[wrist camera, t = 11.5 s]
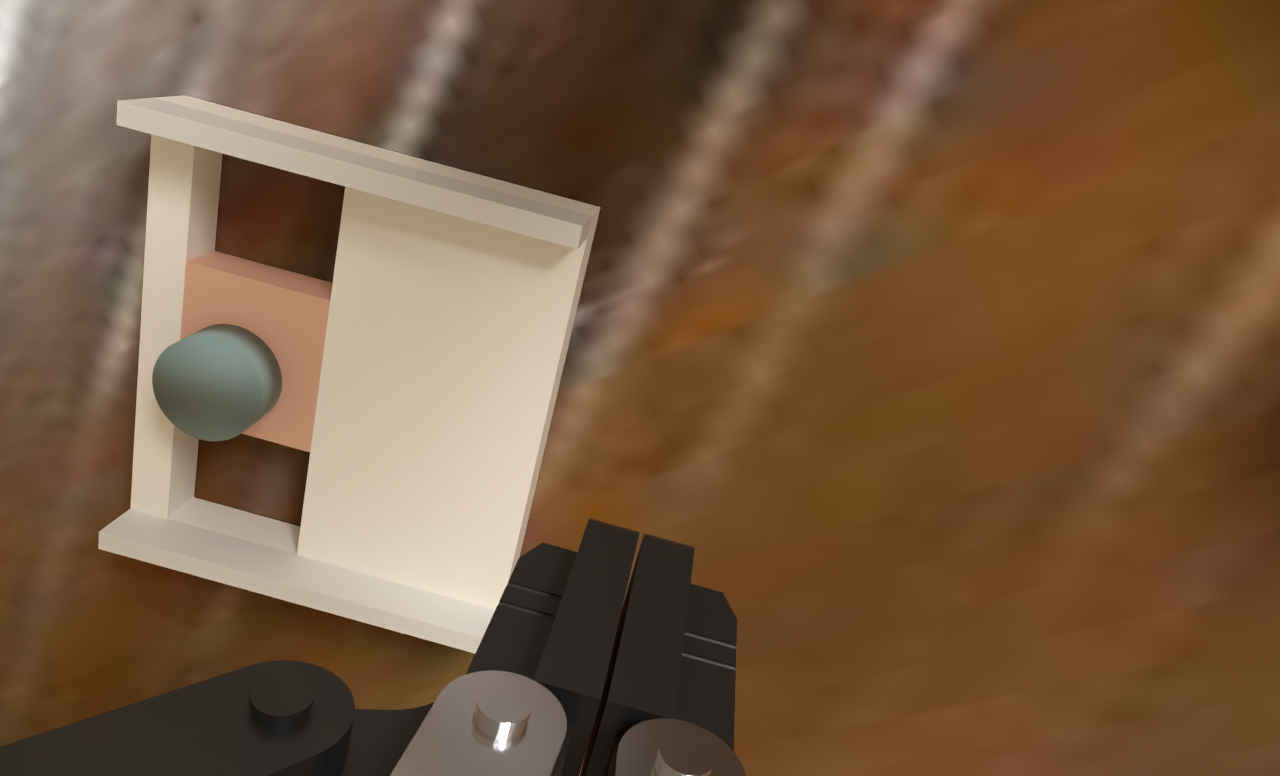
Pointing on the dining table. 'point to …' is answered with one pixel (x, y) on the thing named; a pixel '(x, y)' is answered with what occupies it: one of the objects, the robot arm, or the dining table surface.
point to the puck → (217, 382)
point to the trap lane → (360, 373)
